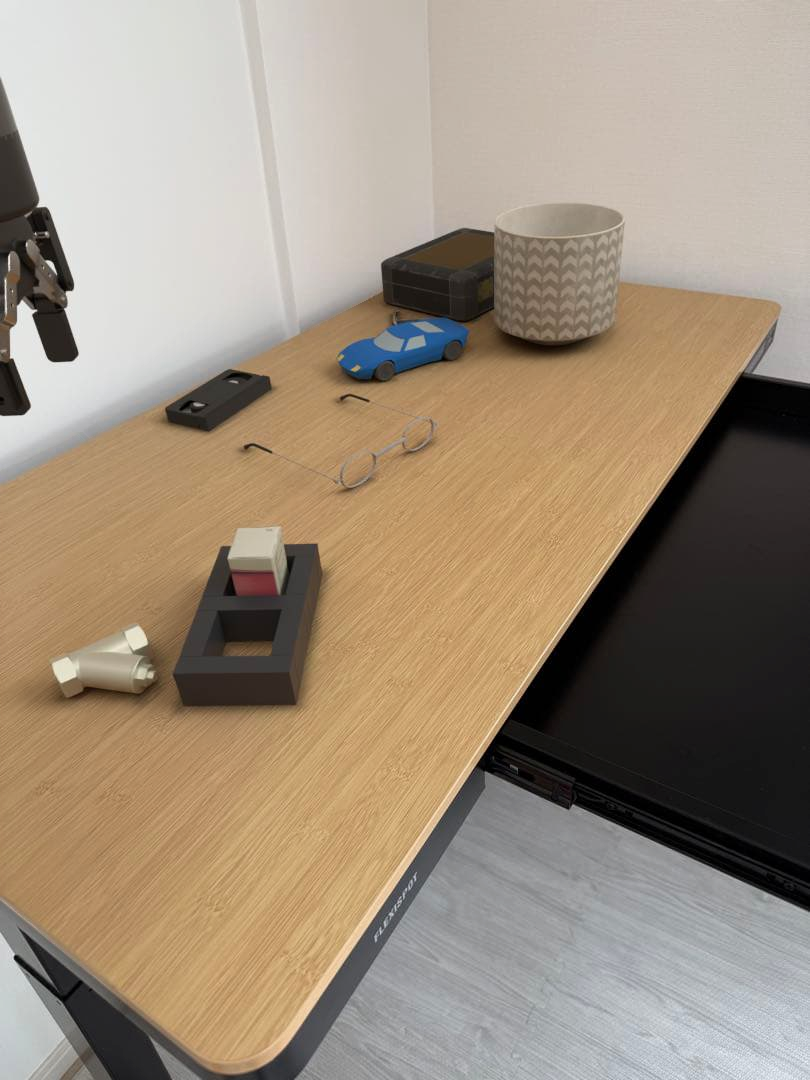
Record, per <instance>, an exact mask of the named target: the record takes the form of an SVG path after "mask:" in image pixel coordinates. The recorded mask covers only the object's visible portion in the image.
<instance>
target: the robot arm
mask: <svg viewBox="0 0 810 1080" xmlns="http://www.w3.org/2000/svg"><path fill="white" fill-rule="evenodd" d="M24 147H25V146H24V144H23V141H22V138H21V135H20V131H19V129H18V126H17V123H16V120H15V117H14V113H13V110H12V107H11V104H10V100H9V97H8V95H7V92H6V88H5V85H4V82H3V79H2V77H1V76H0V416H1V417H16V416H25V415H26V414H27V413H28V412H29V410H30V409H31V408H32V404H31V402H30V398H29V396H28V394H27V391H26V388H25V385H24V383H23V380H22V377H21V374H20V373H19V370H18V367H17V365H16V362H15V359H14V358H11V329H12V328H14V327H15V326H16V325H17V323H18V306H19V305H20V304H21V302H23V303H25V304H26V306H27V307H28V308H29V309H30V310H31V311H34V312H33V313H32V314H31V317H32V319H33V322H34V325H35V328H36V331H37V334H38V338H39V339H40V343H41V345H42V349H43V351H44V354H45V357H46V359H47V360H48V361H49V362H51V363H72V362H74V361H75V360H76V359H77V358H78V357H79V355H80V353H79V349H78V345H77V342H76V340H75V336H74V333H73V330H72V327H71V325H70V321H69V319H68V315H67V312H66V310H65V309H67V308H68V305H69V301H68V297H67V292H73V291H74V290H75V281H74V277H73V275H72V271H71V268H70V266H69V263H68V260H67V257H66V255H65V252H64V249H63V245H62V243H61V239H60V237H59V234H58V231H57V228H56V224H55V222H54V220H53V216H52V214H51V210H50V209H49V208H48V207H47V206H39V203H40V195H39V192H38V188H37V185H36V182H35V179H34V176H33V173H32V170H31V166H30V163H29V161H28V157H27V153H26V151H25V148H24ZM48 261H49V262H51V263H52V264H53V267H54V269H53V268H52V267H51V266H50V265H49V263H48Z"/></svg>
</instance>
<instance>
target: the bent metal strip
mask: <svg viewBox="0 0 810 1080" xmlns="http://www.w3.org/2000/svg"><path fill="white" fill-rule="evenodd" d="M393 311H394V314H392V320H391V321H392V323H393V324H394V325H398V324H402V323H406V322H412V321H419V320H420V319H419V318H407V319H406V318H405V319H398V317H397V315H398V314H400V313H401V311H400V310H395V309H394V310H393Z"/></svg>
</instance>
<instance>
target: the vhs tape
mask: <svg viewBox="0 0 810 1080" xmlns="http://www.w3.org/2000/svg"><path fill="white" fill-rule="evenodd" d="M271 390H272V383H271V377H270V376H268V375H264V374H263V375H261V374H259V373H258V374H257V373H252V372H248V371H241V370H237V369H231V368H228V369H226V370H224V371H223V372H221V373H218V375H216V376H214V377H213V378H211V379H209V380H208V381H206V382H205V383H203V384H201V385H200V386H198V387H196V388H195V389H194V390H191V391H190V392H188V393H186V394H185V395H183V396H182V397H180V398H178V399H176V400H175V401H173V402H172V403H170V404H168V405H167V406H165V407H164V410H165V414H166V418H167V421H168V422H170V423H173V424H174V423H176V424H178V425H183V426H187V427H190V428H194V429H199V430H203V431H206V432H210V431H212V430H213V429H215V428H216V427H218V426H219V425H220V424H222V423H223V422H225V421H226V420H228V419H229V418H231V417H232V416H234V415H235V414H236V413H238V412H240V411H241V410H242V409H244V408H246V407H247V406H249V405H250V404H251V403H253V402H255V401H256V400H258V399H259V398H260V397H261V396H264V395H265V394H267V392H269V391H271Z"/></svg>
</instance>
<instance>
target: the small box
mask: <svg viewBox="0 0 810 1080" xmlns="http://www.w3.org/2000/svg"><path fill="white" fill-rule="evenodd" d="M284 544H285V543H284V538H283V533H282V527H281V526H280V525H277V526H276V525H275V526H249V527H238V528H237V529H236V531H235V534H234V537H233V539H232V542H231V545H230V546H231V548H230V551H229V555H228V563H229V566H230V570H231V575H232V579H233V583H234V587H235V591H236V595H237V596H259V595H285V594H286V590H287V586H288V582H289V578H290V576H289V571H288V565H287V560H286V555H285V549H284Z"/></svg>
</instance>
